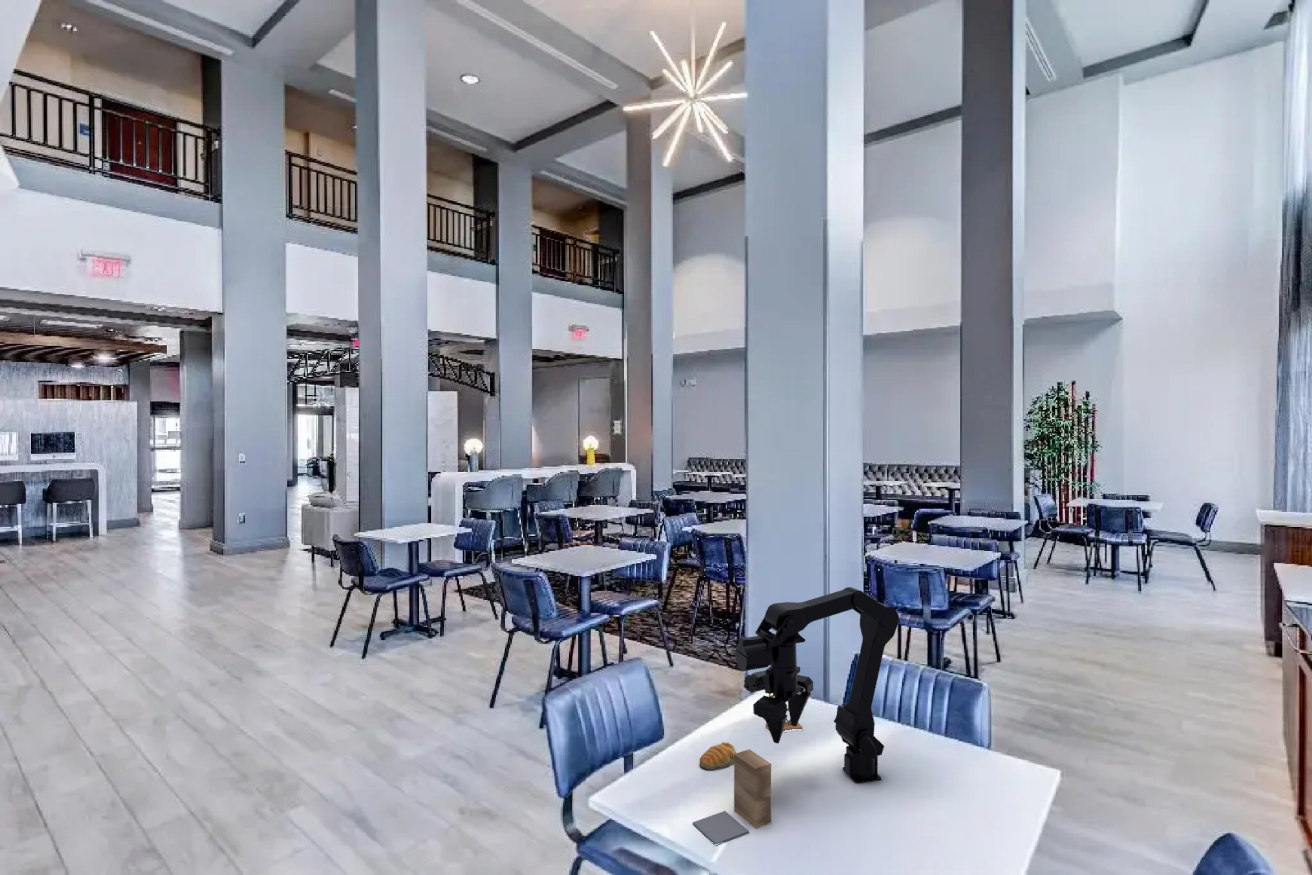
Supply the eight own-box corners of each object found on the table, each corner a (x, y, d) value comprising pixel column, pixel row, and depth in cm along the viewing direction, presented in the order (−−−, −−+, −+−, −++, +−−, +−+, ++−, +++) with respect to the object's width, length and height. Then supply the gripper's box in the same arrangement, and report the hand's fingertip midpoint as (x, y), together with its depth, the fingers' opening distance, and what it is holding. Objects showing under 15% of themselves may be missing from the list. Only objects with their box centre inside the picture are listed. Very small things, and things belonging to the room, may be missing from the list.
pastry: (712, 775, 155) (712, 759, 155) (692, 764, 160) (692, 748, 160) (740, 762, 161) (740, 746, 161) (720, 752, 166) (720, 736, 166)
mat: (725, 812, 140) (725, 810, 140) (749, 832, 133) (749, 830, 133) (692, 824, 136) (692, 822, 136) (715, 845, 129) (715, 843, 129)
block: (749, 805, 142) (749, 749, 142) (771, 822, 136) (771, 763, 136) (734, 811, 140) (734, 753, 140) (755, 828, 134) (755, 768, 134)
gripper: (768, 644, 160) (770, 709, 160) (730, 670, 144) (732, 742, 145) (813, 652, 153) (815, 720, 154) (778, 680, 138) (780, 756, 138)
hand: (785, 734), depth 148 cm, fingers open, 9 cm apart
